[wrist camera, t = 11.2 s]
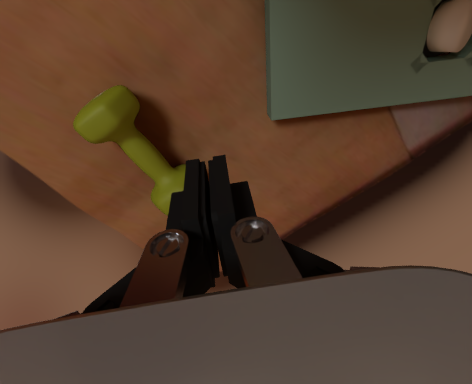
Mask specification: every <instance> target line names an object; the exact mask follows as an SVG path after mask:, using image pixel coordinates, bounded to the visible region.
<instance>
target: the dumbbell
mask: <svg viewBox="0 0 472 384" xmlns="http://www.w3.org/2000/svg"><path fill="white" fill-rule="evenodd" d="M139 108H140V104H139V102H138V100H137V98H136V97H135V96H134V94H133V93H132V92H131V91H130V90H129V89H128V88H127V87H125V86H122V85H118V86H114V87H112V88H110V89H108V90H106V91H104V92H102V93H101V94H99V95H98V96H96V97H95V98H94V99H92V100H91V101H90V102H89V103H88V104H86V105H85V106H84V107H83V108H82V109H81V110H80V112H79V113H78V114H77V116H76V117H75V120H74V123H73V127H74V129H75V130H76V131H77V132H78V133H79V134H80V135H81V136H82V137H83V138H84V139H85V140H87V141H88V142H90V143H94V144H98V143H104V142H107V141H113V142H116V143H117V144H118V145H119V146H120V147H121V148H122V149H123V151H124V152H125V153H126V154H127V155H128V156H129V158H130V159H131V160H132V161H133V162H134V163H135V164H136V165H137V166H138V167H139V168H140V169H141V170H142V171H143V172H145V173H146V174H147V175H148V176H149V177H151V178H152V179H153V180H154V181H155V186H154V188H153V190H152V193H151V200H152V202H153V203H154V204H155V206H156V207H157V208H158V209H159V210H161V211H162V212H163V213H164V214H166V215H168V213H169V206H170V200H171V194H172V193H173V192H179V191H183V189H184V179H185V168H186V164H182V165H179V166H177V167H175V168H173V167H171V166H170V165H169V164H168V162H167V161H166V159H165V158H164V157H163V156H162V154H161V153H160V152H159V151H158V150H157V149H156V147H155V146H154V145H153V144H152V143H151V142H150V141H149V140H148V139H147V138H146V137H145V136H144V135H143V134H142V133H141V132H139V131H138V130H137V129H136V127H135V125H134V120H135V117H136V115H137V114H138V112H139Z"/></svg>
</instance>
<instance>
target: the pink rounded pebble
mask: <svg viewBox="0 0 472 384" xmlns="http://www.w3.org/2000/svg"><path fill="white" fill-rule="evenodd" d="M471 34H472V0H446V1H444V2H443V3H441V4H440V6H439V7H438V8H437V10H436V11H435V13H434V15H433V17H432V20H431V22H430V25H429V29H428V34H427V47H428V49H429V51H431V52H459V51H460V50H461V49H462V48H463V47H464V46H465V45H466V43H467V42H468V40H469V38H470V36H471Z"/></svg>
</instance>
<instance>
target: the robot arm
mask: <svg viewBox="0 0 472 384" xmlns="http://www.w3.org/2000/svg"><path fill="white" fill-rule="evenodd" d="M208 165H209V180H208V175H207V170H206V165H205V162H204V161H203V162H200V160H199V159H194V160H188V161H186V168H185V179H184V189H183V191H179V192H173V193H172V194H171V200H170V206H169V213H168V219H167V226H166V230H165V231H162V232H159V233H157V234H156V235H154V236H153V237H152V238H151V239H150V240H149V241H148V242H147V244H146V246H145V248H144V251H143V253H142V255H141V258H140V260H139V262H138V265H137V267H136V268H134V269H133V270H132V271H131V272H130V273H128V274H127V275H126V276H125V277H123V278H122V279H121V280H119V281H118V282H117V283H116V284H114V285H113V286H112V287H111V288H109V289H108V290H107V291H106V292H104V293H103V294H102V295H101V296H99V297H98V298H97V299H95V301H93V302H92V303H91V304H90V305H89V306H88V307H87V308H85V310H84V311H83V313H81V314H80V313H79V312H78V311H75V312H72V313H70V314H67V315H64V316H61V317H58V318H56V319H52V320H48V321H42V322H36V323H31V324H27V325H22V326H17V327H12V328H8V329H4V330H0V384H472V274H470V273H467V272H463V271H458V270H452V269H446V268H439V267H431V266H390V267H381V268H379V267H350V270H343V269H342V268H341V267H340V266H338V265H336V264H334V263H333V262H330V261H328V260H326V259H324V258H321V257H319V256H317V255H315V254H312V253H310V252H308V251H306V250H303V249H301V248H299V247H297V246H294V245H292V244H290V243H288V242H285V241H283V240H281V239H280V238H279V236H278V234H277V232H276V230H275V229H274V227H273V225H272V224H271V223H270V222H269V221H268V220H266V219H264V218H261V217H257V215H256V212H255V208H254V204H253V200H252V197H251V193H250V189H249V185H248V182H247V181H245V182H238V183H232V184H230V182H229V176H228V170H227V163H226V157H225V155H221V156H214V157H213V160H210V161H208ZM218 252H219V256H220V261H221V266H222V270H223V275H224V276H228V279H229V283H230V284H232V285H233V286H235V287H236V288H237V289H231V290H226V291H219V292H213V293H206V292H207V290H209V289H210V288H211V287H215V278H218V277H220V274H219V259H218ZM205 293H206V294H205Z"/></svg>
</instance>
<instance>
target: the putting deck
mask: <svg viewBox="0 0 472 384" xmlns="http://www.w3.org/2000/svg"><path fill="white" fill-rule="evenodd" d="M444 1H446V0H265V32H266V77H267V114H268V116H269V117H270V119H271V120H279V119H287V118H295V117H303V116H312V115H320V114H328V113H336V112H344V111H352V110H360V109H368V108H376V107H384V106H392V105H400V104H409V103H417V102H425V101H433V100H441V99H449V98H457V97H465V96H472V34H471V36H470V38H469V40H468V42H467V43H466V45H465V46H464V47H463V48H462V49H461V50H460V51H459V52H451V53H450V54H449V55H443V56H437V55H440V54H442V53H444V52H431V51H429V49H428V47H427V34H428V29H429V25H430V22H431V20H432V17H433V15H434V13H435V11H436V10H437V8H438V7H439V6H440V4H441V3H443V2H444ZM424 55H425V56H435V57H425V56H424Z"/></svg>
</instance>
